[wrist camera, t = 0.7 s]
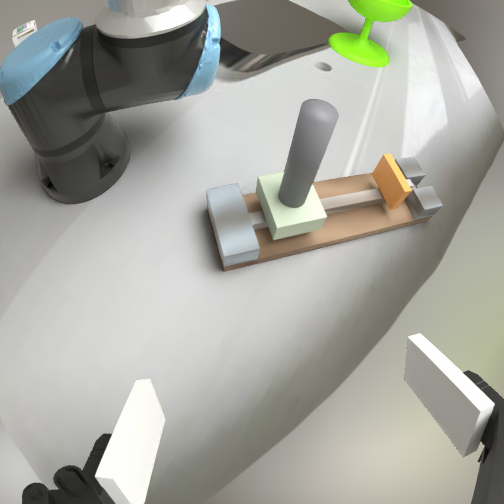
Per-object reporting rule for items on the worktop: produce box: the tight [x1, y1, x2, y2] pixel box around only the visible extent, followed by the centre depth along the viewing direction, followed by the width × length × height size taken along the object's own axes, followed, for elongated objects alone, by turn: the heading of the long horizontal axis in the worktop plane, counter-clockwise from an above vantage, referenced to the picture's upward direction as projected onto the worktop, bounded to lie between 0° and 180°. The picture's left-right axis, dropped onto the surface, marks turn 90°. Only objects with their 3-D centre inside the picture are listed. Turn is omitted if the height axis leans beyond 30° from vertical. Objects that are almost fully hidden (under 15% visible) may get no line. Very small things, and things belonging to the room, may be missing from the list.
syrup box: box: [12, 20, 38, 47], centre depth 48 cm, size 6×6×14 cm
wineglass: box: [329, 0, 413, 67], centre depth 57 cm, size 16×16×18 cm
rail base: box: [206, 157, 443, 271], centre depth 41 cm, size 9×32×4 cm, turn 106°
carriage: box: [256, 99, 338, 240], centre depth 32 cm, size 7×6×16 cm
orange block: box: [372, 154, 413, 210], centre depth 40 cm, size 6×5×4 cm
